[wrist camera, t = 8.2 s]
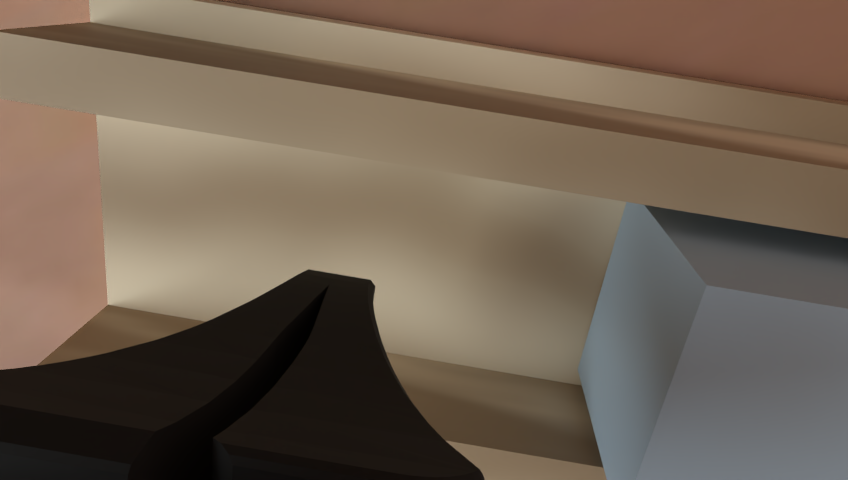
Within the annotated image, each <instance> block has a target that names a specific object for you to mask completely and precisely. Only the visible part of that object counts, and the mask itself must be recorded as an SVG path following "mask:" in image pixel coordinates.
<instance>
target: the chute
mask: <svg viewBox="0 0 848 480" xmlns="http://www.w3.org/2000/svg"><path fill="white" fill-rule="evenodd" d="M89 7H90V22H88V23H76V24H64V25H52V26H40V27H28V28H16V29H4V30H0V99H5V100H11V101H17V102H23V103H29V104H35V105H41V106H47V107H53V108H59V109H66V110H72V111H78V112H84V113H90V114H96V119H97V135H98V151H99V167H100V184H101V200H102V216H103V232H104V248H105V264H106V280H107V296H108V305H107V306H106V307H105V308H104V309H103V310H102V311H100V312H99V313H98V314H97V315H96V316H94V317H93V318H92V319H91V320H90V321H89V322H87V323H86V324H85V325H84V326H83V327H82V328H80V329H79V330H78V331H77V332H76V333H75V334H73V335H72V336H71V337H70V338H69V339H68V340H66V341H65V342H64V343H63V344H62V345H61V346H59V347H58V348H57V349H56V350H55V351H54V352H52V353H51V354H50V355H49V356H48V357H46V358H45V359H44V360H43V361H42V362H41V363H39V364H38V365H45V364H51V363H57V362H63V361H69V360H74V359H79V358H85V357H90V356H95V355H99V354H104V353H108V352H112V351H116V350H119V349H123V348H127V347H131V346H135V345H138V344H142V343H146V342H150V341H154V340H157V339H160V338H163V337H166V336H169V335H172V334H175V333H178V332H181V331H183V330H186V329H189V328H192V327H194V326H197V325H199V324H202V323H204V322H207V321H209V320H211V319H214V318H216V317H218V316H220V315H222V314H224V313H226V312H228V311H230V310H233V309H235V308H237V307H239V306H241V305H243V304H245V303H247V302H249V301H251V300H253V299H255V298H257V297H259V296H260V295H262V294H264V293H266V292H268V291H270V290H271V289H273V288H275V287H277V286H279V285H280V284H282V283H284V282H286V281H287V280H289V279H291V278H293V277H295V276H296V275H298V274H300V273H302V272H304V271H306V270H308V269H310V270H316V271H322V272H328V273H333V274H339V275H345V276H351V277H357V278H363V279H369V280H371V281H372V282H373V284H374V285H375V293H374V301H373V306H374V313H375V318H376V322H377V326H378V330H379V334H380V337H381V340H382V343H383V346H384V349H385V351H386V354H387V356H388V359H389V361H390V363H391V366H392V368H393V370H394V372H395V374H396V376H397V378H398V379H399V381H400V383H401V385H402V387H403V388H404V390H405V391H406V393H407V395H408V396H409V398H410V400H411V401H412V403H413V404H414V405H415V406H416V408H417V409H418V410H419V412H420V413H421V414H422V416H423V417H424V418H425V419H426V421H427V422H428V423H429V424H430V425H431V426H432V427H433V428H434V429H435V431H436V432H437V433H438V434H439V435H440V436H441V437H442V438H443V439H444V440H445V441H446V442H447V443H449V444H450V445H451V446H452V447H453V448H455V449H456V450H457V451H458V452H460V453H461V454H462V455H463V456H464V457H466V458H467V459H468V460H469V461H470V462H472V463H473V464H474V465H475V466H476V467H478V468H479V469H480V471H481V472H482V474H483V476H484V479H485V480H607V479H606V475H605V471H604V467H603V464H602V460H601V456H600V452H599V448H598V445H597V441H596V437H595V433H594V430H593V426H592V422H591V418H590V414H589V411H588V407H587V403H586V399H585V396H584V392H583V388H582V384H581V380H580V377H579V373H578V366H579V363H580V359H581V356H582V353H583V349H584V346H585V342H586V339H587V335H588V332H589V329H590V325H591V322H592V318H593V315H594V311H595V308H596V305H597V301H598V298H599V294H600V291H601V287H602V284H603V280H604V277H605V274H606V270H607V267H608V263H609V260H610V256H611V253H612V250H613V246H614V243H615V239H616V236H617V232H618V229H619V226H620V222H621V219H622V215H623V212H624V208H625V205H626V202H630V203H636V204H642V205H648V206H654V207H660V208H667V209H673V210H679V211H685V212H691V213H697V214H703V215H709V216H715V217H721V218H727V219H733V220H739V221H745V222H752V223H758V224H764V225H770V226H776V227H782V228H788V229H794V230H800V231H806V232H812V233H818V234H824V235H830V236H837V237H843V238H848V102H845V101H839V100H833V99H826V98H820V97H814V96H808V95H802V94H795V93H789V92H783V91H777V90H770V89H764V88H758V87H752V86H746V85H739V84H733V83H727V82H721V81H714V80H708V79H702V78H696V77H690V76H683V75H677V74H671V73H665V72H658V71H652V70H646V69H640V68H633V67H627V66H621V65H615V64H609V63H602V62H596V61H590V60H584V59H577V58H571V57H565V56H559V55H553V54H546V53H540V52H534V51H528V50H521V49H515V48H509V47H503V46H497V45H490V44H484V43H478V42H472V41H465V40H459V39H453V38H447V37H441V36H434V35H428V34H422V33H416V32H409V31H403V30H397V29H391V28H385V27H378V26H372V25H366V24H360V23H353V22H347V21H341V20H335V19H328V18H322V17H316V16H310V15H304V14H297V13H291V12H285V11H279V10H272V9H266V8H260V7H254V6H248V5H241V4H235V3H229V2H223V1H216V0H89ZM38 365H37V366H38Z"/></svg>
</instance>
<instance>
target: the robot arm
mask: <svg viewBox="0 0 848 480" xmlns="http://www.w3.org/2000/svg"><path fill="white" fill-rule="evenodd" d="M374 293H375V285H374V284H373V282H372V281H371V280H369V279H363V278H357V277H351V276H345V275H339V274H333V273H328V272H322V271H316V270H310V269H308V270H306V271H304V272H302V273H300V274H298V275H296V276H295V277H293V278H291V279H289V280H287V281H286V282H284V283H282V284H280V285H279V286H277V287H275V288H273V289H271V290H270V291H268V292H266V293H264V294H262V295H260V296H259V297H257V298H255V299H253V300H251V301H249V302H247V303H245V304H243V305H241V306H239V307H237V308H235V309H233V310H230V311H228V312H226V313H224V314H222V315H220V316H218V317H216V318H214V319H211V320H209V321H207V322H204V323H202V324H199V325H197V326H194V327H192V328H189V329H186V330H183V331H181V332H178V333H175V334H172V335H169V336H166V337H163V338H160V339H157V340H154V341H150V342H146V343H142V344H138V345H135V346H131V347H127V348H123V349H119V350H116V351H112V352H108V353H104V354H99V355H95V356H90V357H85V358H79V359H74V360H69V361H63V362H57V363H51V364H45V365H38V366H31V367H24V368H16V369H6V370H0V480H485V479H484V476H483V474H482V472H481V471H480V469H479V468H478V467H476V466H475V465H474V464H473V463H472V462H470V461H469V460H468V459H467V458H466V457H464V456H463V455H462V454H461V453H460V452H458V451H457V450H456V449H455V448H453V447H452V446H451V445H450V444H449V443H447V442H446V441H445V440H444V439H443V438H442V437H441V436H440V435H439V434H438V433H437V432H436V431H435V429H434V428H433V427H432V426H431V425H430V424H429V423H428V422H427V421H426V419H425V418H424V417H423V416H422V414H421V413H420V412H419V410H418V409H417V408H416V406H415V405H414V404H413V403H412V401H411V400H410V398H409V396H408V395H407V393H406V391H405V390H404V388H403V387H402V385H401V383H400V381H399V379H398V378H397V376H396V374H395V372H394V370H393V368H392V366H391V363H390V361H389V359H388V356H387V354H386V351H385V349H384V346H383V343H382V340H381V337H380V334H379V330H378V326H377V322H376V318H375V313H374V306H373V301H374Z"/></svg>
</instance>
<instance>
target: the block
mask: <svg viewBox="0 0 848 480" xmlns="http://www.w3.org/2000/svg"><path fill="white" fill-rule="evenodd" d="M578 373H579V377H580V380H581V384H582V388H583V392H584V396H585V399H586V403H587V407H588V411H589V414H590V418H591V422H592V426H593V430H594V433H595V437H596V441H597V445H598V448H599V452H600V456H601V460H602V464H603V467H604V471H605V475H606V479H607V480H848V238H843V237H837V236H830V235H824V234H818V233H812V232H806V231H800V230H794V229H788V228H782V227H776V226H770V225H764V224H758V223H752V222H745V221H739V220H733V219H727V218H721V217H715V216H709V215H703V214H697V213H691V212H685V211H679V210H673V209H667V208H660V207H654V206H648V205H642V204H636V203H630V202H626V205H625V208H624V212H623V215H622V219H621V222H620V226H619V229H618V232H617V236H616V239H615V243H614V246H613V250H612V253H611V256H610V260H609V263H608V267H607V270H606V274H605V277H604V280H603V284H602V287H601V291H600V294H599V298H598V301H597V305H596V308H595V311H594V315H593V318H592V322H591V325H590V329H589V332H588V335H587V339H586V342H585V346H584V349H583V353H582V356H581V359H580V363H579V366H578Z"/></svg>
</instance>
